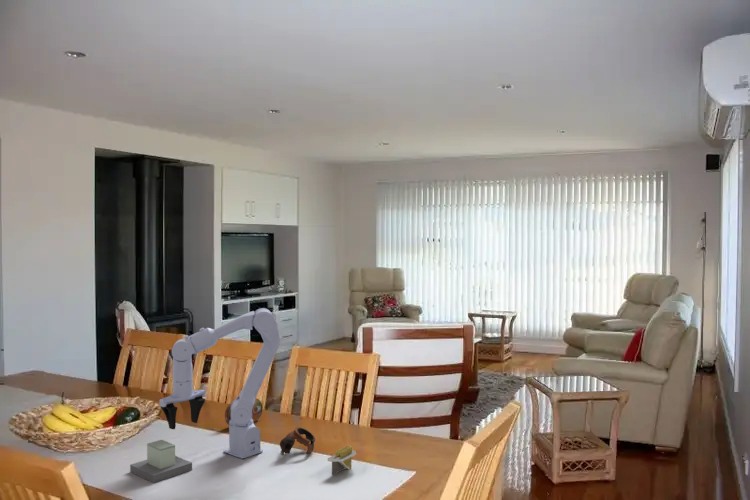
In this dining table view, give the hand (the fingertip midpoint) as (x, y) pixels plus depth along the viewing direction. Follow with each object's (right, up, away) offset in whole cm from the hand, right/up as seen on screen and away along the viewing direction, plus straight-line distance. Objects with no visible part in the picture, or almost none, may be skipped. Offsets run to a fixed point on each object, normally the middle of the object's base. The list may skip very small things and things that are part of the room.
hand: (183, 425), depth 186 cm
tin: (+11, -9, +32) cm, 35 cm away
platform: (+48, -10, -11) cm, 51 cm away
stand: (-3, -10, -11) cm, 15 cm away
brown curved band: (+33, -10, +3) cm, 35 cm away
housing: (-3, -8, -11) cm, 14 cm away
